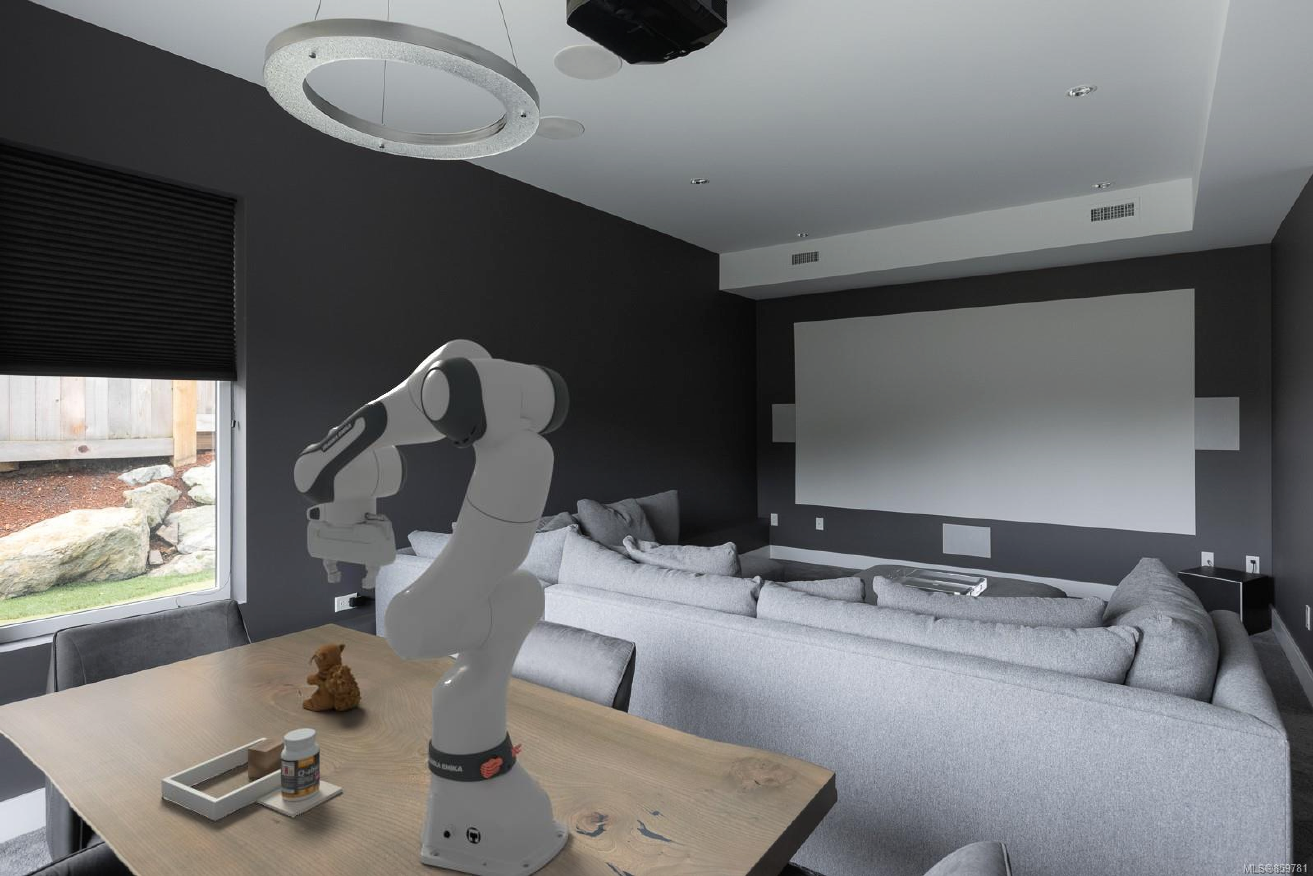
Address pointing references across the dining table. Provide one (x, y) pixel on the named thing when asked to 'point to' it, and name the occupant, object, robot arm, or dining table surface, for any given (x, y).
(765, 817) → the dining table surface
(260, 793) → the tray frame
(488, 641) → the robot arm
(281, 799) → the coaster
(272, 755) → the walnut block
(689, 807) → the dining table surface
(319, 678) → the stuffed squirrel
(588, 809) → the dining table surface
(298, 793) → the pill bottle
